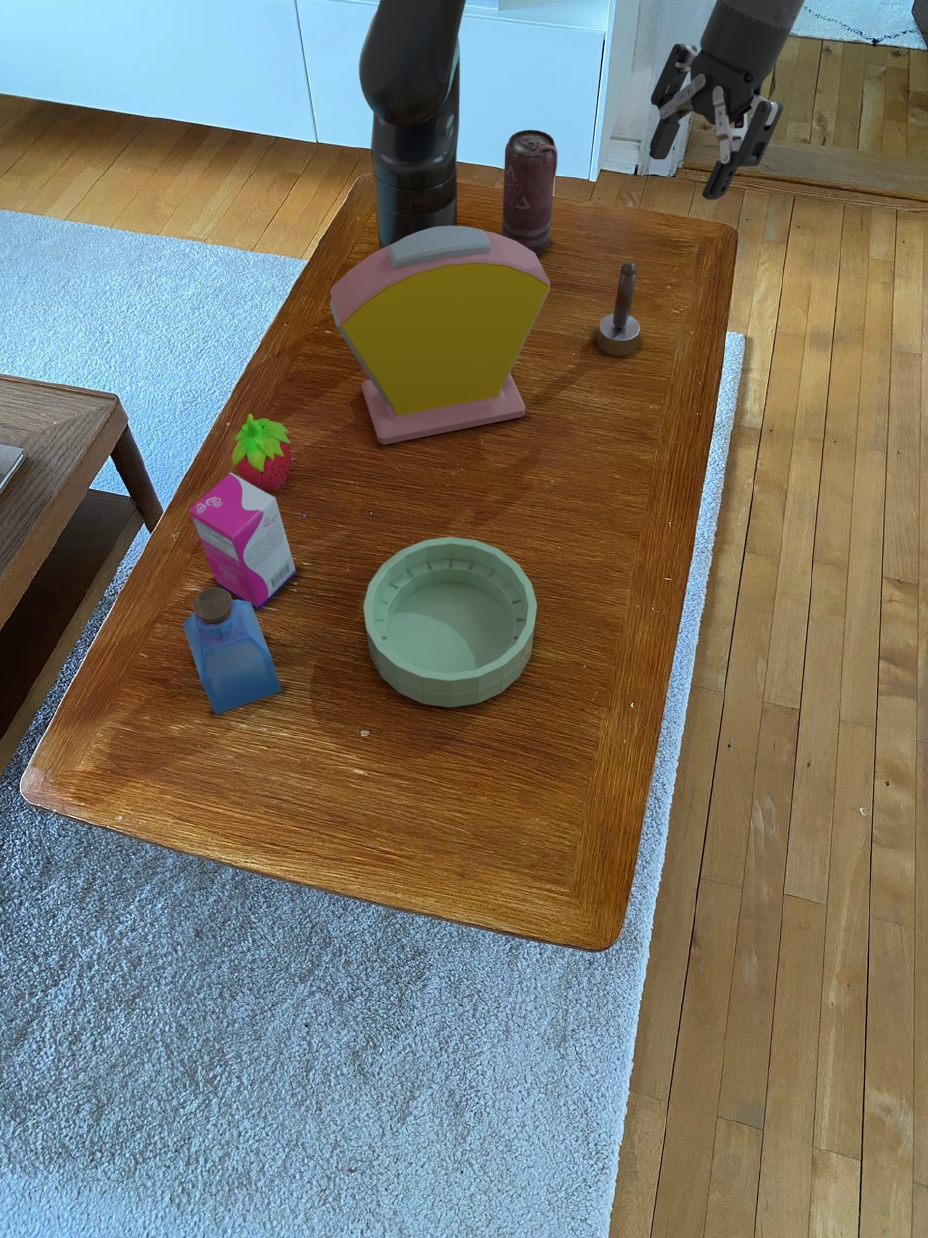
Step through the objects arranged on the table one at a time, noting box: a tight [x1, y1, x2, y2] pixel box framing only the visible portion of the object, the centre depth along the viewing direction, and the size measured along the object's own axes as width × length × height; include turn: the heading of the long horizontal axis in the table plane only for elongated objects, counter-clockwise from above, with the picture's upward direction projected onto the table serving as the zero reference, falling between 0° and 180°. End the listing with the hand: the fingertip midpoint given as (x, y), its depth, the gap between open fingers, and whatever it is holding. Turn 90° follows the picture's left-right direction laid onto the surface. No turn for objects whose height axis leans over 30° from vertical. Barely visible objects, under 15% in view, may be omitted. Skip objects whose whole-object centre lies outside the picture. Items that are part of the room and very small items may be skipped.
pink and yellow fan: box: [329, 225, 551, 446], centre depth 101 cm, size 22×9×22 cm, turn 106°
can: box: [501, 129, 559, 257], centre depth 120 cm, size 6×6×14 cm
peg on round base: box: [596, 261, 641, 357], centre depth 111 cm, size 5×5×11 cm
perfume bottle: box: [182, 586, 282, 716], centre depth 85 cm, size 6×6×12 cm
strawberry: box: [230, 413, 292, 492], centre depth 99 cm, size 6×7×10 cm
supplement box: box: [188, 472, 297, 611], centre depth 92 cm, size 6×6×12 cm
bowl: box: [362, 536, 538, 708], centre depth 90 cm, size 16×16×6 cm
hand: (682, 177), depth 102 cm, fingers open, 8 cm apart
